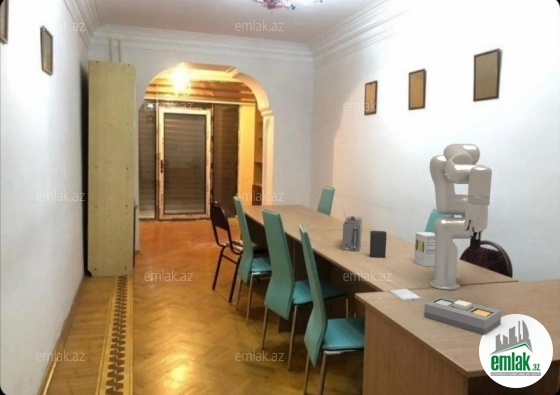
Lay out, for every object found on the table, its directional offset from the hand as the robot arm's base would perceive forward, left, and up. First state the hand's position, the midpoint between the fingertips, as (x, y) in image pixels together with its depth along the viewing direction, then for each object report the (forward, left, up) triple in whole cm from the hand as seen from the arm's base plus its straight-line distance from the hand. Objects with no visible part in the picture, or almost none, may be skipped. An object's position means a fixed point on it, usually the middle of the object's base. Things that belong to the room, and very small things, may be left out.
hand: (474, 248), depth 169 cm
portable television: (-60, -102, -25) cm, 121 cm away
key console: (+9, +1, -25) cm, 27 cm away
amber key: (+9, +8, -23) cm, 26 cm away
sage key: (+9, -6, -23) cm, 25 cm away
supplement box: (-57, -49, -25) cm, 79 cm away
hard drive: (0, -28, -26) cm, 38 cm away
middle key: (+9, +1, -21) cm, 23 cm away
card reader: (-51, -76, -25) cm, 95 cm away
